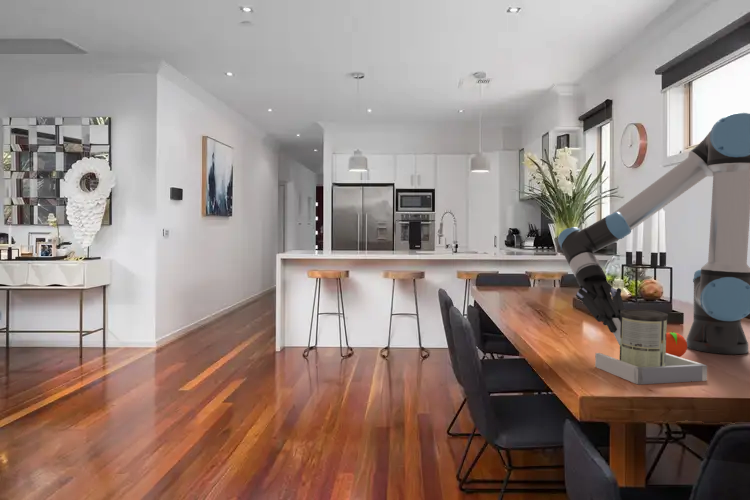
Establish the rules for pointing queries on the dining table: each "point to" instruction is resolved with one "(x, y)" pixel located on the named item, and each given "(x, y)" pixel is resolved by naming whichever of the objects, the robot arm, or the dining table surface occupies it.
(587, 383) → the dining table surface
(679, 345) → the tomato
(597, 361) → the bay
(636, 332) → the coffee can
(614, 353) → the dining table surface
